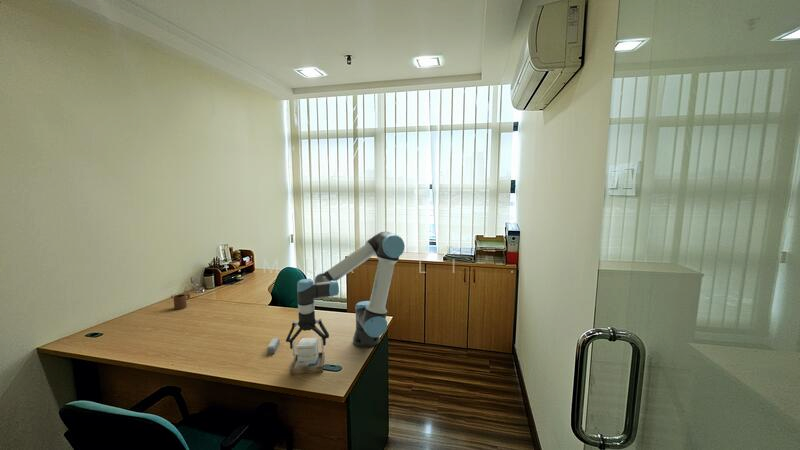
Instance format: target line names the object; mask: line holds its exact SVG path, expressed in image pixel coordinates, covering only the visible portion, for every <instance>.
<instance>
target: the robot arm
mask: <svg viewBox="0 0 800 450" xmlns="http://www.w3.org/2000/svg"><path fill="white" fill-rule="evenodd" d="M404 251H405V242H404V240H403V238H402V237H401V236H400V235H398V234H396V233H392V232H390V231H384V230H383V231H380V232H378V233H377V234H375V235H374V236H372V237H370V238H369V239H368V240H366V241H365V244H364V245H363V246H361V247H359V248H358V249H356V250H355V251H353V252H352V253H350V254H348V256H347V257H345V258H344V259H342V260H340V261H339V262H338V263H336V264H335V265H333V266H332V267H331V268H329V269H328V270H326V271H324V272H323V273H322V272H320V273H318V274H317V275H316V276H315V277H314V280H313V279H312V278H303V279H300V280H298V281H297V283H296V287H297V288H296V292H297V293H296V295H297V296H296V297H297V310H298V321H295V320H293V321H292V323H291V329H290V330H289V332H288V334H287V337H286V339H285V343H289V345H290V347H289V348H290V349H291V350H292V356H293V357H294V356H295V354H296V341H295V340H296V338H297V337H298V336H299V335H300V333H301V332H302V331H304V332H307V331H311V330H312V331H313V332H315V333H316V334H317V335H318V337H320V338H321V352H322V353H324V354H325V351H324V347H325V346H326V345H327V342H326V341H327V339H329V338H330V333H329V331H328V330H327V328H326V327H325V325H324V323H323V320H322V318H319V319H316V316H315V315H316V314H315V299H322V298H323V299H324V298H328V297H329V298H330V297H334V296H338V295H339V293H340V286H339V280H340V279H342V278H344V276H346V275H347V274H350V273H351V271H353V270H355V269H356V268H358V267H359V266H360V265H362V264H364V263H365V262H366V261H368V260H369V259H371V258H372V257H374V256H375V257H376V258H377V260H378V262H377V267H376V271H375V276H374V280H373V285H372V290H371V295H370V298H369V300H365V301H363V300H362V301H359V302H357V303H356V304H355V308H354V309H355V331H354V335H353V337H352V342H353V344H354V346H356V347H358V348H371V347H374V346H377V345H378V344H379V343H380V340H381V338H380V337H381V336H382V335H384V333H386V331H387V329H388V320H387V319H386V318H387V315H388V310H387V309H386V305H387V300H388V294H389V293H390V292H389V291H390V288H391V287H390V286H391V282H392V278H393V273H394V267H395V264H396V263H397V262H399V259H400V257H401V256H402V255H403V253H404ZM316 324H317V325H318V326H319V327H320V329H321V330H320V329H319V328H318V327H317V326H316ZM297 326H298V327H299V328H298V329H297V330H296V332H295V333H294V330H295V327H297ZM293 333H294V334H293ZM292 334H293V336H292Z"/></svg>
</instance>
